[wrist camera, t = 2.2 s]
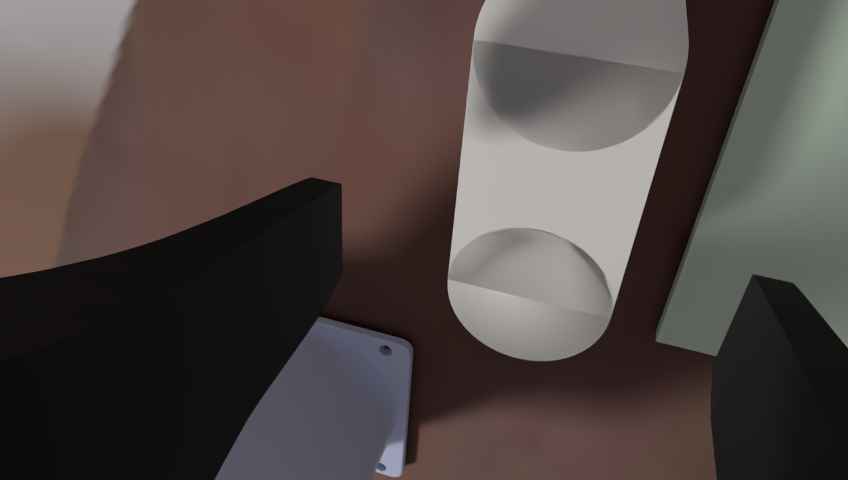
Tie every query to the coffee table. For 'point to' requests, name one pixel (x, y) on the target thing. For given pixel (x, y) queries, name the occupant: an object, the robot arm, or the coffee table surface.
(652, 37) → the connector
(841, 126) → the mat
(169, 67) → the coffee table surface
